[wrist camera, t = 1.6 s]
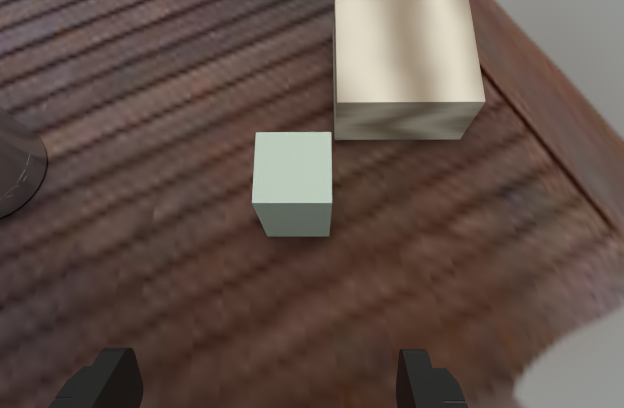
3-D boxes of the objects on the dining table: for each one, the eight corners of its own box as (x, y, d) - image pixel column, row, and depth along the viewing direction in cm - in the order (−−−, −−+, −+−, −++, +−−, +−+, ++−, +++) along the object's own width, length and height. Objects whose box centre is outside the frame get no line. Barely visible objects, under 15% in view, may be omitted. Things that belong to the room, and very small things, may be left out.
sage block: (267, 236, 33) (251, 203, 25) (269, 179, 34) (255, 132, 27) (329, 236, 33) (332, 203, 25) (328, 179, 34) (331, 132, 27)
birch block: (334, 141, 36) (337, 102, 30) (332, 41, 40) (335, -10, 34) (459, 140, 36) (485, 101, 30) (445, 40, 39) (466, -12, 34)
